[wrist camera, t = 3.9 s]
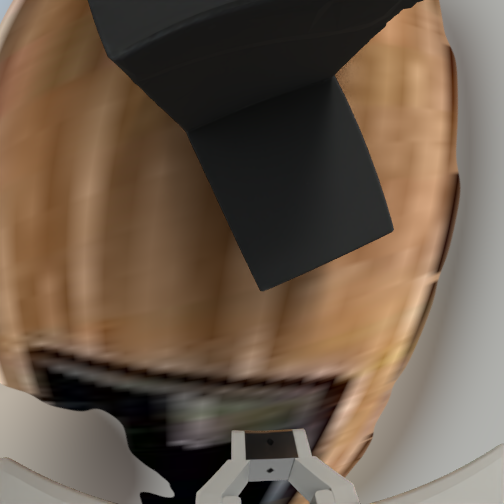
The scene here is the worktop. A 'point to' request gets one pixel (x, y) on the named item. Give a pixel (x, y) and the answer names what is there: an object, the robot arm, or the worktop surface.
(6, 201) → the worktop surface
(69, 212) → the worktop surface
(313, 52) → the black stepped block
